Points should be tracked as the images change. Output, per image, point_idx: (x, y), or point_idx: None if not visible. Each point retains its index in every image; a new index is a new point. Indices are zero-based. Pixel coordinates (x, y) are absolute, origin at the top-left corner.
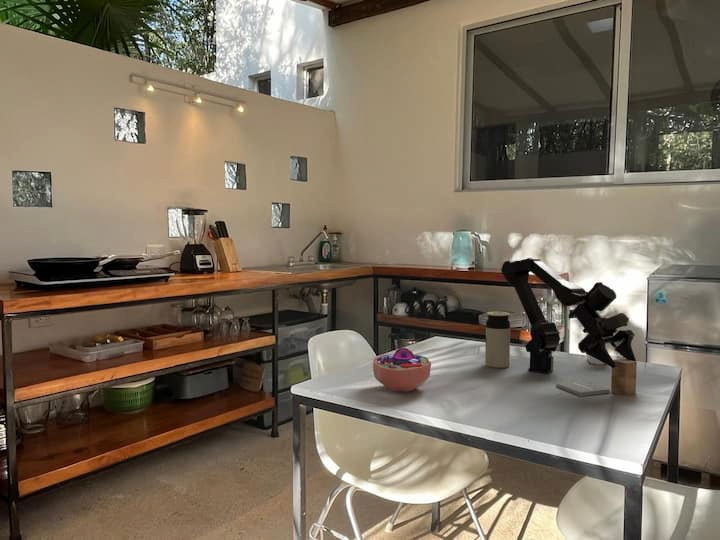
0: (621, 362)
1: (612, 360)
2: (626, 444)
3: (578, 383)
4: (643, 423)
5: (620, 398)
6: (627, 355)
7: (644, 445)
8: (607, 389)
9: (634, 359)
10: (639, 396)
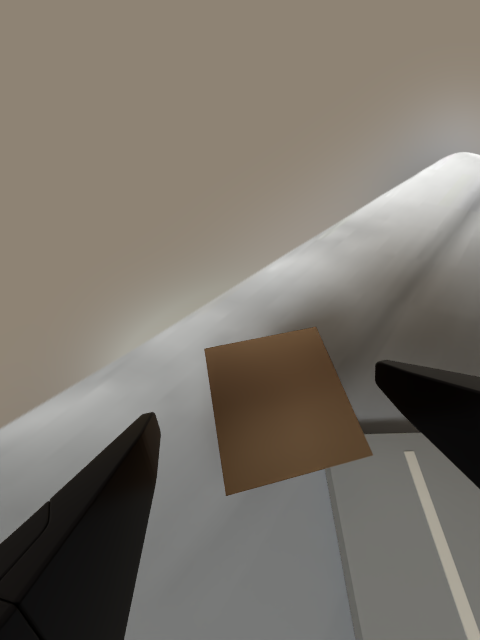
0: (331, 364)
1: (421, 371)
2: (454, 178)
3: (446, 625)
4: (377, 219)
5: None
6: (130, 519)
7: (427, 172)
8: None
9: (144, 424)
10: None
